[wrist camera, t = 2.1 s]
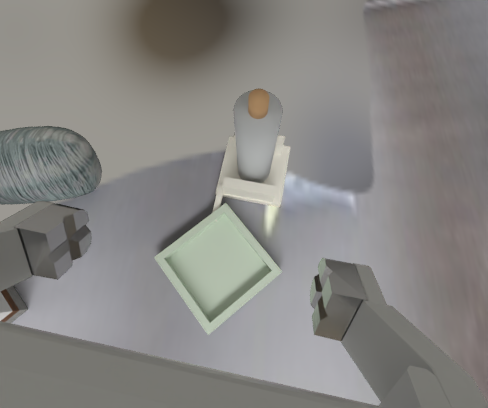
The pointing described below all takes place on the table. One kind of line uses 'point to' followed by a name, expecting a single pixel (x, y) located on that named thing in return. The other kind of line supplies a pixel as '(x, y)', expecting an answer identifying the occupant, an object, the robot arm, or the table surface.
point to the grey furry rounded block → (46, 165)
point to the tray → (217, 267)
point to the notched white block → (11, 305)
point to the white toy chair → (248, 190)
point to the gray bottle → (256, 133)
